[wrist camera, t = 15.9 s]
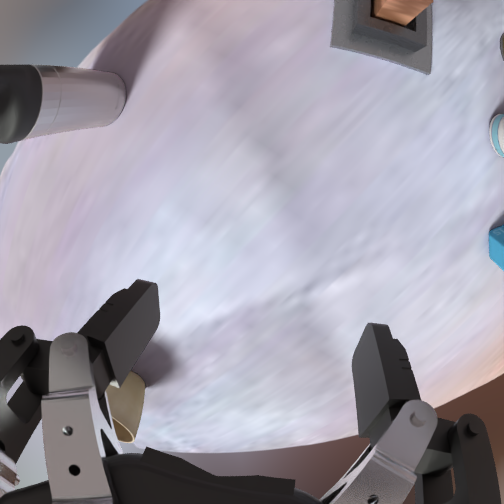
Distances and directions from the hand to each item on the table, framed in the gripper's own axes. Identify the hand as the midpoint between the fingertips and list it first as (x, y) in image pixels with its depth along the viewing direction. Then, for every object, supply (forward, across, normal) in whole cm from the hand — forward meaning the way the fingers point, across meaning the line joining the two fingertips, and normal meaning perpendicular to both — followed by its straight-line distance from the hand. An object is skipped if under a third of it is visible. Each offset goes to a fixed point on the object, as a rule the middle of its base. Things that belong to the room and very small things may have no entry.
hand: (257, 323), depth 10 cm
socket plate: (+30, -10, -26) cm, 41 cm away
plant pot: (+30, +30, +53) cm, 68 cm away
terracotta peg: (+29, -10, -26) cm, 40 cm away
